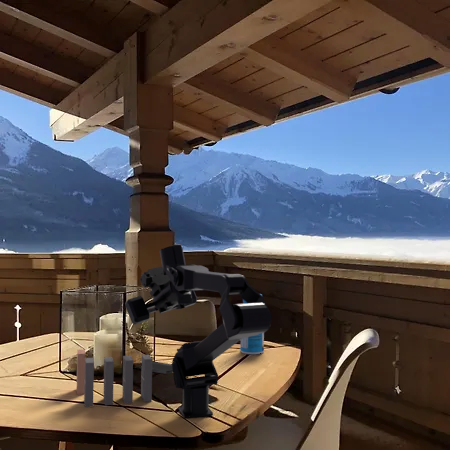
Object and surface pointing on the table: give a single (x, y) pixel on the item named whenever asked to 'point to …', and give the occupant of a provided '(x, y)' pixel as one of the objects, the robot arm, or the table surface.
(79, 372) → the domino
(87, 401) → the domino
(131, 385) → the domino
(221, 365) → the table surface
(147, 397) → the domino
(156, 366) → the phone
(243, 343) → the beverage bottle
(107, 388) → the domino
